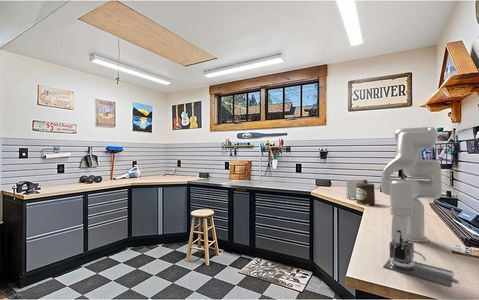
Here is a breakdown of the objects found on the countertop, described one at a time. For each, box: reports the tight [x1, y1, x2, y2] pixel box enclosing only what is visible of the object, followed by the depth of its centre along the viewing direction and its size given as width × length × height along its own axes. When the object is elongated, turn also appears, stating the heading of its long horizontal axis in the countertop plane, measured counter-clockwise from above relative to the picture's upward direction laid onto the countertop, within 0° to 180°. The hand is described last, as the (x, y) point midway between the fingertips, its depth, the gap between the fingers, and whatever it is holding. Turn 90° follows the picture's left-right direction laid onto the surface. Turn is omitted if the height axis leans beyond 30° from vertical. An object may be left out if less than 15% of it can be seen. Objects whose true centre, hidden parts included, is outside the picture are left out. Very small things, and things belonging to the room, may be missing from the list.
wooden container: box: [356, 179, 376, 205], centre depth 219 cm, size 15×15×22 cm
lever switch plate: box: [383, 256, 454, 288], centre depth 93 cm, size 14×20×6 cm
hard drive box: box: [345, 178, 365, 199], centre depth 243 cm, size 16×8×20 cm, turn 82°
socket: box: [389, 238, 415, 263], centre depth 97 cm, size 7×7×6 cm
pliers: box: [414, 250, 426, 261], centre depth 113 cm, size 10×1×20 cm
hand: (401, 255), depth 97 cm, fingers closed on socket, 7 cm apart
